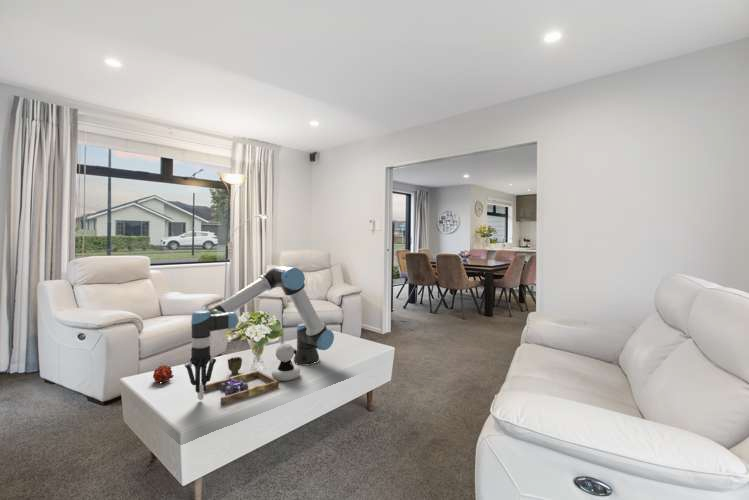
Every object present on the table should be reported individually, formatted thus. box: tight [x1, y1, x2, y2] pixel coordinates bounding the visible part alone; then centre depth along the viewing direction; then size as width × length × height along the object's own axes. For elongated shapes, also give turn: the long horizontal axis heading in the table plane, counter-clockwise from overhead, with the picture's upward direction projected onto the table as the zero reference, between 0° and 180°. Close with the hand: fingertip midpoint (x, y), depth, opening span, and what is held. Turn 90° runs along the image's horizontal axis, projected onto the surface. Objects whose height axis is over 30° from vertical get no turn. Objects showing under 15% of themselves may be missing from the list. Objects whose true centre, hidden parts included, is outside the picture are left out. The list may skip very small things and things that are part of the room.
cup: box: [227, 356, 243, 375], centre depth 191 cm, size 8×7×8 cm
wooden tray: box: [203, 370, 280, 406], centre depth 170 cm, size 28×20×3 cm
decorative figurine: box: [271, 338, 301, 382], centre depth 187 cm, size 15×15×20 cm
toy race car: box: [219, 379, 249, 396], centre depth 168 cm, size 10×15×6 cm, turn 42°
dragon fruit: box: [152, 365, 175, 385], centre depth 178 cm, size 8×8×12 cm
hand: (200, 398), depth 156 cm, fingers closed
